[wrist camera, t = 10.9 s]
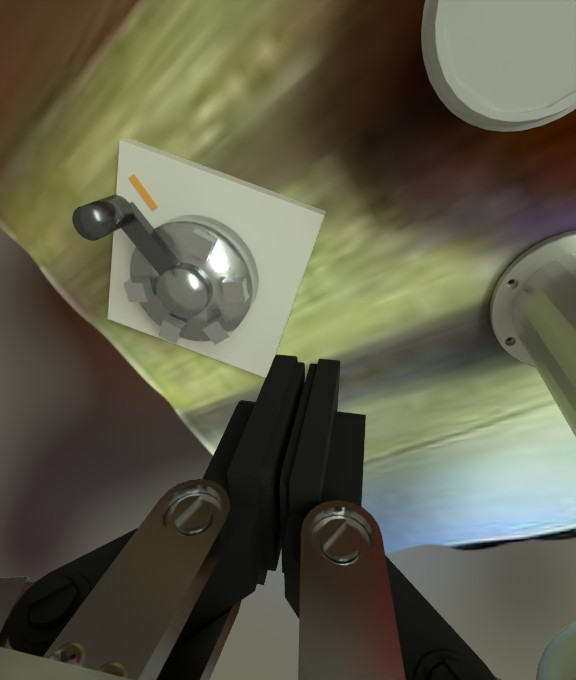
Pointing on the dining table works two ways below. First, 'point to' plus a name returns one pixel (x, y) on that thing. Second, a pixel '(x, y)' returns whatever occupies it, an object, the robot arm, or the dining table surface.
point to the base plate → (238, 214)
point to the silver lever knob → (180, 269)
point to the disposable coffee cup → (502, 60)
